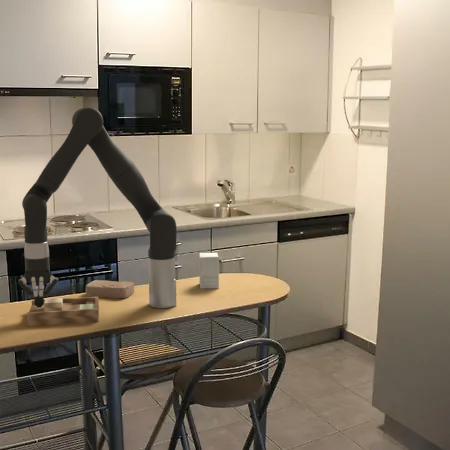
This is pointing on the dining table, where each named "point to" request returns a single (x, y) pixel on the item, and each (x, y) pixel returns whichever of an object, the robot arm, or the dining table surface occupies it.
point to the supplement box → (209, 270)
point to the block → (53, 304)
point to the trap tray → (66, 312)
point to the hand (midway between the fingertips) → (39, 306)
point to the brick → (109, 289)
